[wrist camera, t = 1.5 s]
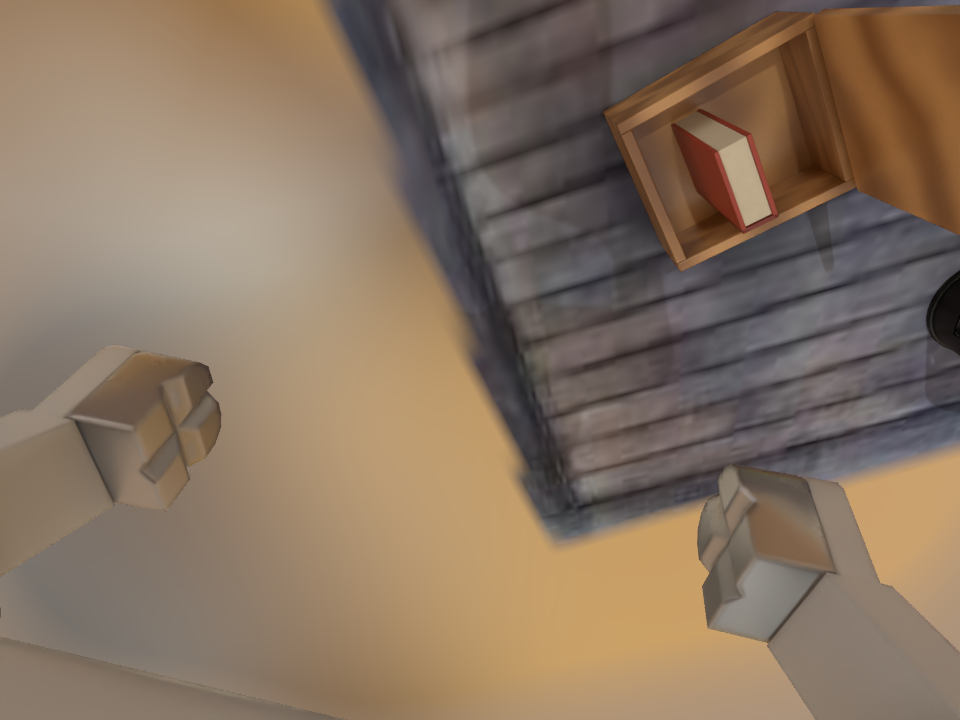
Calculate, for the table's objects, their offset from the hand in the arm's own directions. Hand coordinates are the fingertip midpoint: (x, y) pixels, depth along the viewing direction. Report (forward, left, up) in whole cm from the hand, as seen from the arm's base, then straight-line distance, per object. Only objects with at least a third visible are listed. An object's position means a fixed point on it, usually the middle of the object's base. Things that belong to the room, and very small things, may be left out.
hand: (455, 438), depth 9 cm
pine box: (+5, +18, -43) cm, 47 cm away
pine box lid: (+2, +24, -29) cm, 38 cm away
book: (+6, +17, -42) cm, 45 cm away
